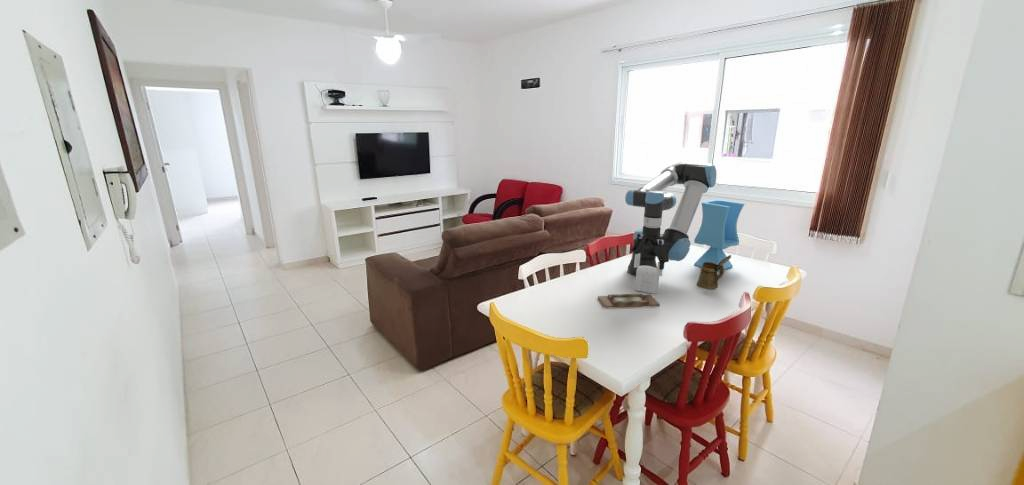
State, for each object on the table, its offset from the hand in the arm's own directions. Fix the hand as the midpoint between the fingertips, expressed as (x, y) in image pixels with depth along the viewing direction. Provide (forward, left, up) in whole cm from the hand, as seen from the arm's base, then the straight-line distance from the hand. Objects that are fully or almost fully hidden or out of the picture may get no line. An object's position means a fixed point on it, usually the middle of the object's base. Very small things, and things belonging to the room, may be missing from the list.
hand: (647, 271), depth 184 cm
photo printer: (0, 0, -10) cm, 10 cm away
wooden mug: (+12, +30, -10) cm, 34 cm away
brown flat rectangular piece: (+5, -16, -10) cm, 19 cm away
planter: (-7, +57, -10) cm, 59 cm away
